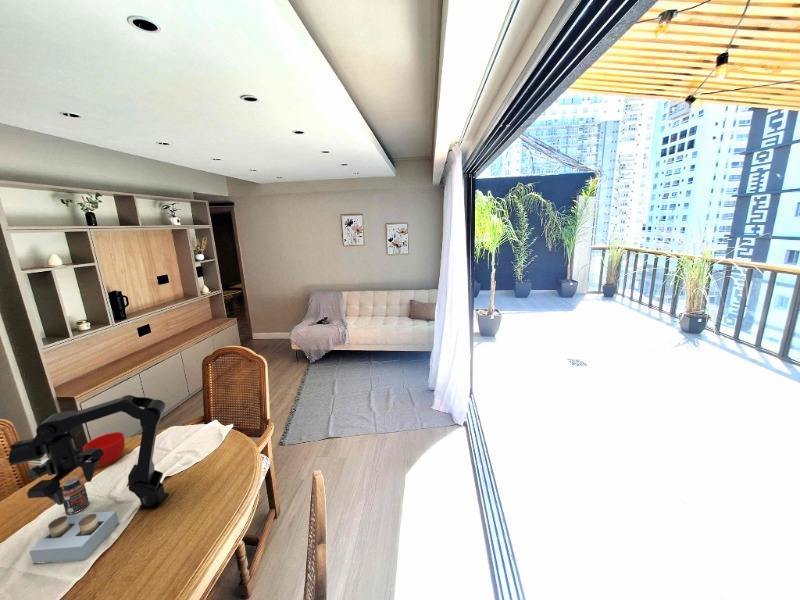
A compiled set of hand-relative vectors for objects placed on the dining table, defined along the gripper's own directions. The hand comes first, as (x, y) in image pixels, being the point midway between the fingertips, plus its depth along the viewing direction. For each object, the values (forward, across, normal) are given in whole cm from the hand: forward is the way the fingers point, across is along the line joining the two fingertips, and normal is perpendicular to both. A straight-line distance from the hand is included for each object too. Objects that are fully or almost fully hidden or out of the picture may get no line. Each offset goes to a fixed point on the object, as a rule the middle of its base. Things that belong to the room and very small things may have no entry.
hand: (75, 492), depth 101 cm
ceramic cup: (+13, -29, -21) cm, 39 cm away
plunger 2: (+9, +6, +9) cm, 15 cm away
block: (+13, +7, +4) cm, 15 cm away
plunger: (+9, +7, 0) cm, 12 cm away
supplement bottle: (+13, -7, -10) cm, 17 cm away
